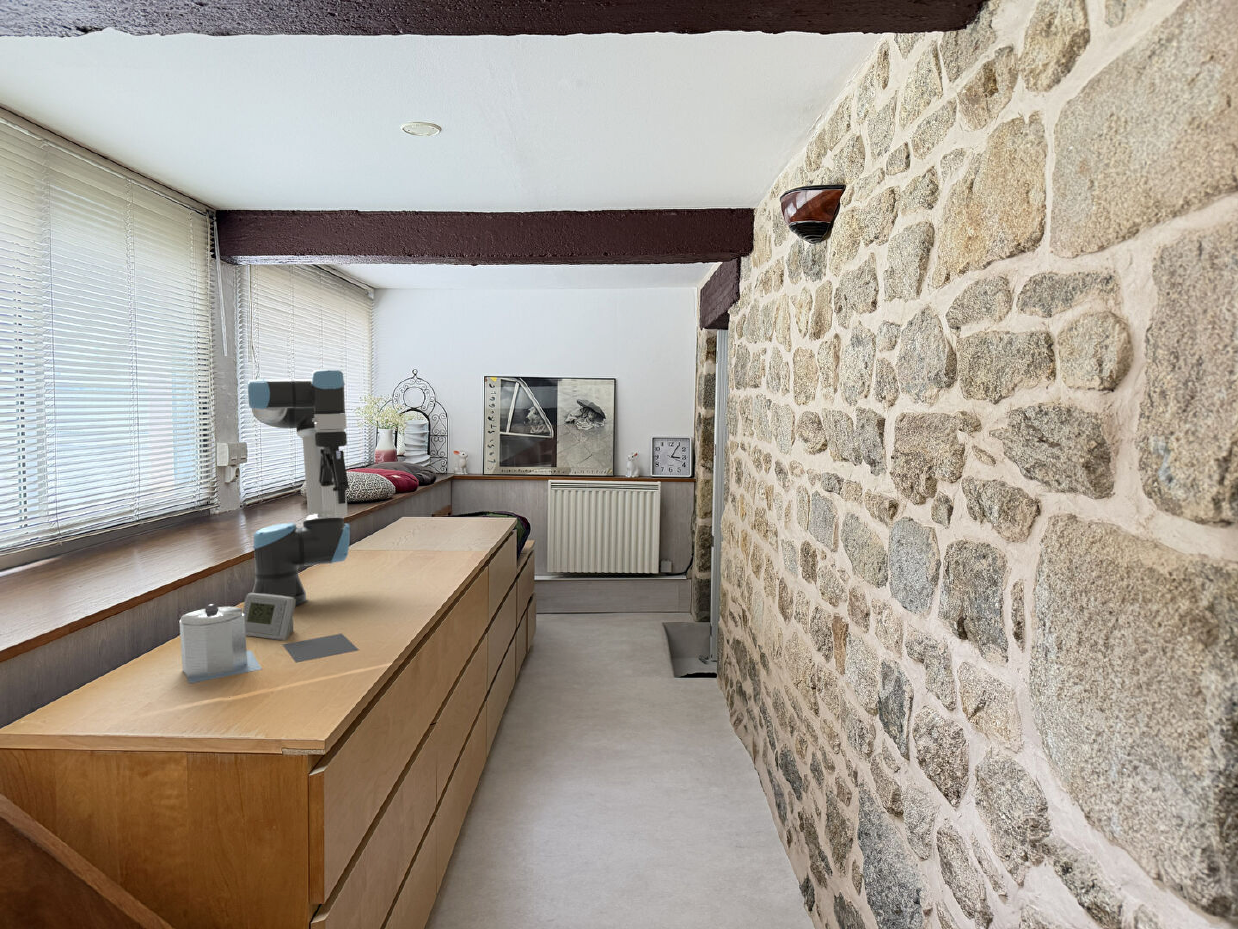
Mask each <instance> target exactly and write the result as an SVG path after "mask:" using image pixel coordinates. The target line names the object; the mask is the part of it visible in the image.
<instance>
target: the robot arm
mask: <svg viewBox="0 0 1238 929" xmlns="http://www.w3.org/2000/svg"><path fill="white" fill-rule="evenodd" d="M345 384H346V383H345V380H344V373H343V371H341V370H338V369H320V370H319V369H315V370H313V371H312V372H311V379H310V378H309V379H308V378H307V379H264V378H260V379H251V380H248V381H247V395H248V396H247V397H248V406H249V408H250V409H251V411H252V414H253V416H254V417H255V419H256V420H258V422H261V423H263V425H266V426H269V427H273V428H277V429H295V430H296V435H297V436H298V437H300V439H302V447H303V448H302V449H303V464H304V477H305V489H306V490H305V492H306V504H307V507H306V508H307V516H306V517H305V518H304V520H303V521H302V525H303V526H302V527H297V525H296V523H294V522H288V523H278V524H275V525H274V524H273V525H270V526H267V527H263V528H261V529H259V530H257V531H255V533H254V534H253V546H252V548H253V550H254V551H253V552H254V553H253V554H254V573H255V582H254V585H253V589H252V592H251V593H259V594H260V593H264V594H274V595H283V596H287V597H293V598H295V600H296V604H295V607H296V606H298V605H301V604H304V603H305V602H306V601H307V593H306V590H305V588H304V586H303V584H302V581H301V578H300V576H299V567H307V566H316V565H325V564H326V565H328V564H330V565H331V564H333V563H340V562H343V561H345V560H347V558H348V555H349V550H350V540H351V539H350V537H351V536H350V535H351V530H350V527H351V526H350V524H349V523H347V522H345V521H344V520H345V519H344V517H348V516H349V515H348V498H347V495H348V494H347V490H348V489H349V487H350V485H349V480H348V474H347V469H346V464H345V454H344V453H345V452H344V450H340V448H339V447H344V446H347V445H348V441H347V432H346V431H345V430H346V429H347V416H346V415H347V414H346V407H345V406H346V405H345V403H346V402H345Z"/></svg>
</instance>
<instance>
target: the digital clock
mask: <svg viewBox="0 0 1238 929" xmlns="http://www.w3.org/2000/svg"><path fill="white" fill-rule="evenodd" d="M295 604H296V600H295V598H293V597H287V596H283V595H274V594H264V593H260V594H259V593H252V592H249V593H247V595H246V596H245V598H244V603H243V608H242V613H243V614H244V618H245V634H246V637H254V638H263V639H268V640H278V641H285V640H288V638H289V635H290V634H291V633H293V632H294V619H293V618H294V617H293V616H294V613H295V609H296V606H295Z"/></svg>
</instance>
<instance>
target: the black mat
mask: <svg viewBox="0 0 1238 929" xmlns="http://www.w3.org/2000/svg"><path fill="white" fill-rule="evenodd" d="M282 646H283V648H284V649H285V650H286V652H287V653H288V654H289V656H291V658H292V660H294V662H295V663H301V662H306V661H312V660H315V659H322V658H327V657H331V656H336V655H342V654H347V653H351V652H357V651H360V650H359V648H358V647H357V646H355V644H354V643H352V642H351V640H349V639H348V638H347V637H346V636H345V635H344V634H343V633H338V634H331V635H328V636H327V635H326V636H320V637H316V638H310V639H305V640H299V641H293V642H288V643H283V644H282Z"/></svg>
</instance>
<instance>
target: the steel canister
mask: <svg viewBox="0 0 1238 929" xmlns="http://www.w3.org/2000/svg"><path fill="white" fill-rule="evenodd" d="M242 612H243V608H241V607H238V606H237V607H236V606H218V605H217V604H215V603H210V604H208V605H207V606H206V607H205V608H201V609H198V610H194V611H190V612H187V613H186V614H183V615H182V616H181V617H180V620H179V621H178V622H179V623H178V624H179V636H180V637H179V639H180V649H181V650H180V651H181V663H182V665H181V666H182V672H183V673H184V675H185V676H186V677H187V678H188V677H211V676H216V675H220V674H225V673H229V672H234V671H236V670H237V669H239V668H241V667H242V666H244V665H246V664H247V651H248V650H247V638H246V637H247V636H246V634H245V618H244V614H243V613H242Z"/></svg>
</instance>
